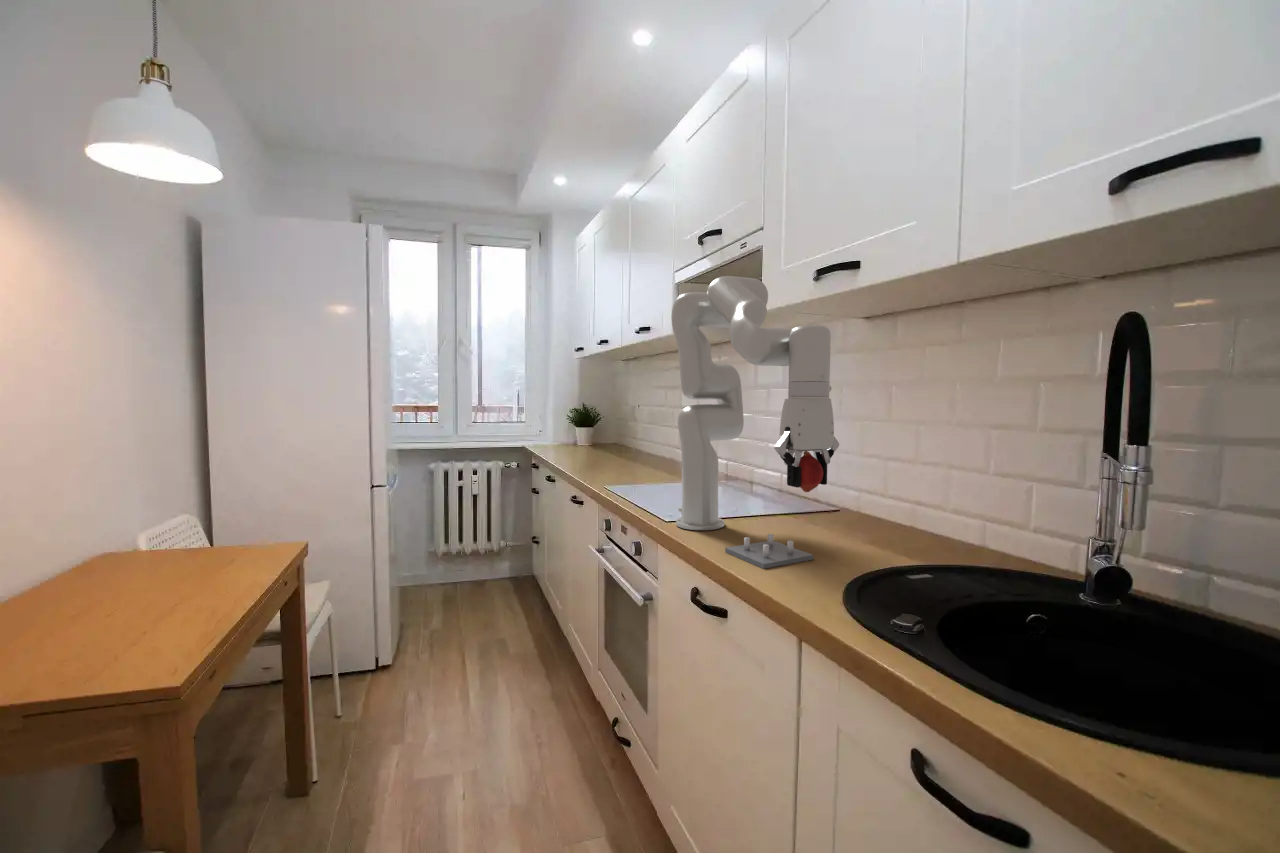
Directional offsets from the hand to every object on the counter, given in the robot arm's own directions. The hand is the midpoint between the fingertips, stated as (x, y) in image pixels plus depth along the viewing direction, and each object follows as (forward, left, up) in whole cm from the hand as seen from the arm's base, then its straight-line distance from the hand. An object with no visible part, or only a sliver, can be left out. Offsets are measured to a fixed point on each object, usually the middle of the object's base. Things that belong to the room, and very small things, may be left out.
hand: (806, 484), depth 108 cm
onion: (0, 0, -2) cm, 2 cm away
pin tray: (-11, 0, -17) cm, 21 cm away
